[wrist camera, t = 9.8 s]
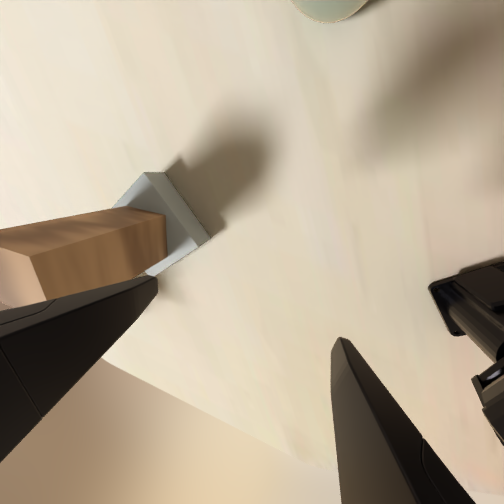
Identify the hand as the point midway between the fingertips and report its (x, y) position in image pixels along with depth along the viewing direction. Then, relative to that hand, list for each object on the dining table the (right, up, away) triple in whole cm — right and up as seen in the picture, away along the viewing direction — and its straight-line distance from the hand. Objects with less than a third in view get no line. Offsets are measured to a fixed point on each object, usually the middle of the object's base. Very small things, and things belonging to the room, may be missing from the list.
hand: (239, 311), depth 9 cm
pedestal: (-11, +6, +15) cm, 19 cm away
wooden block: (-11, +5, +13) cm, 18 cm away
